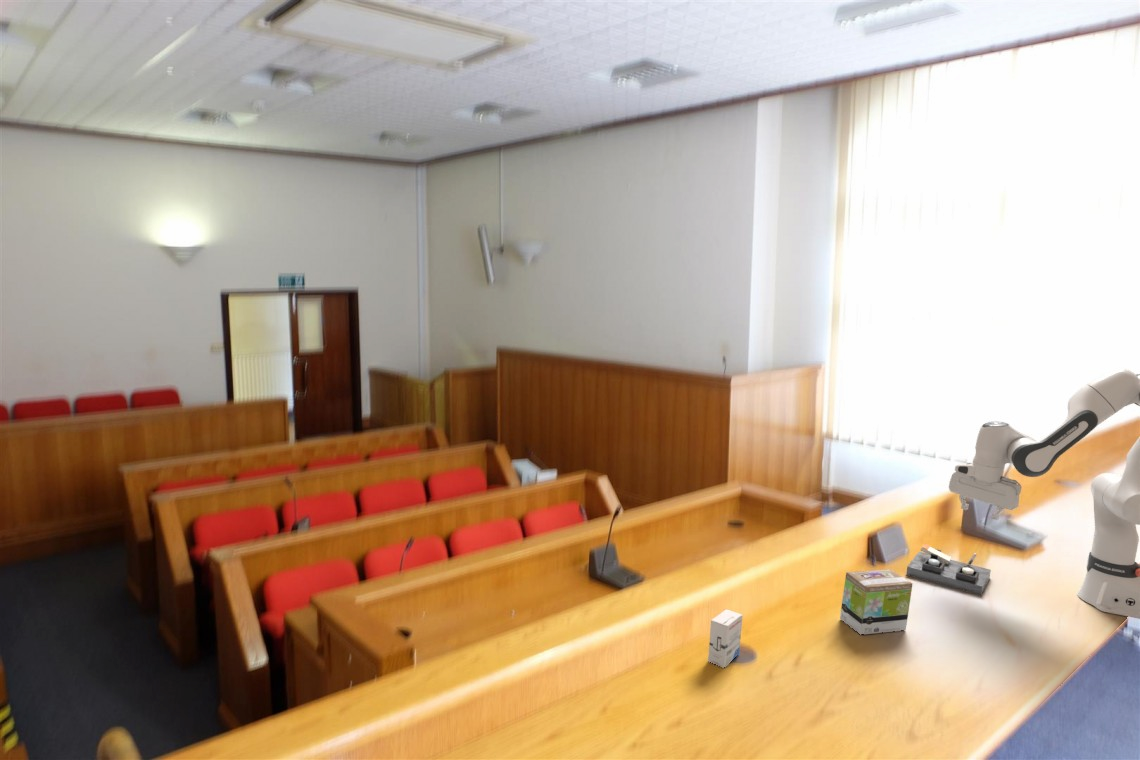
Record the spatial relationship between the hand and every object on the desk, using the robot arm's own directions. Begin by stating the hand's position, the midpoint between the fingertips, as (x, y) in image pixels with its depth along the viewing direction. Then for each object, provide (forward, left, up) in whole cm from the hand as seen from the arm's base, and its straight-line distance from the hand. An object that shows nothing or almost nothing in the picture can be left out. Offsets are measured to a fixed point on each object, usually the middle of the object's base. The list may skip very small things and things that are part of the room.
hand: (979, 514), depth 242 cm
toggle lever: (+1, -4, -19) cm, 19 cm away
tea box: (+16, +50, -24) cm, 58 cm away
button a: (0, +4, -19) cm, 19 cm away
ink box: (+41, +94, -24) cm, 105 cm away
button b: (+10, +4, -19) cm, 22 cm away
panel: (+6, 0, -23) cm, 24 cm away
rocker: (+12, -4, -20) cm, 23 cm away
